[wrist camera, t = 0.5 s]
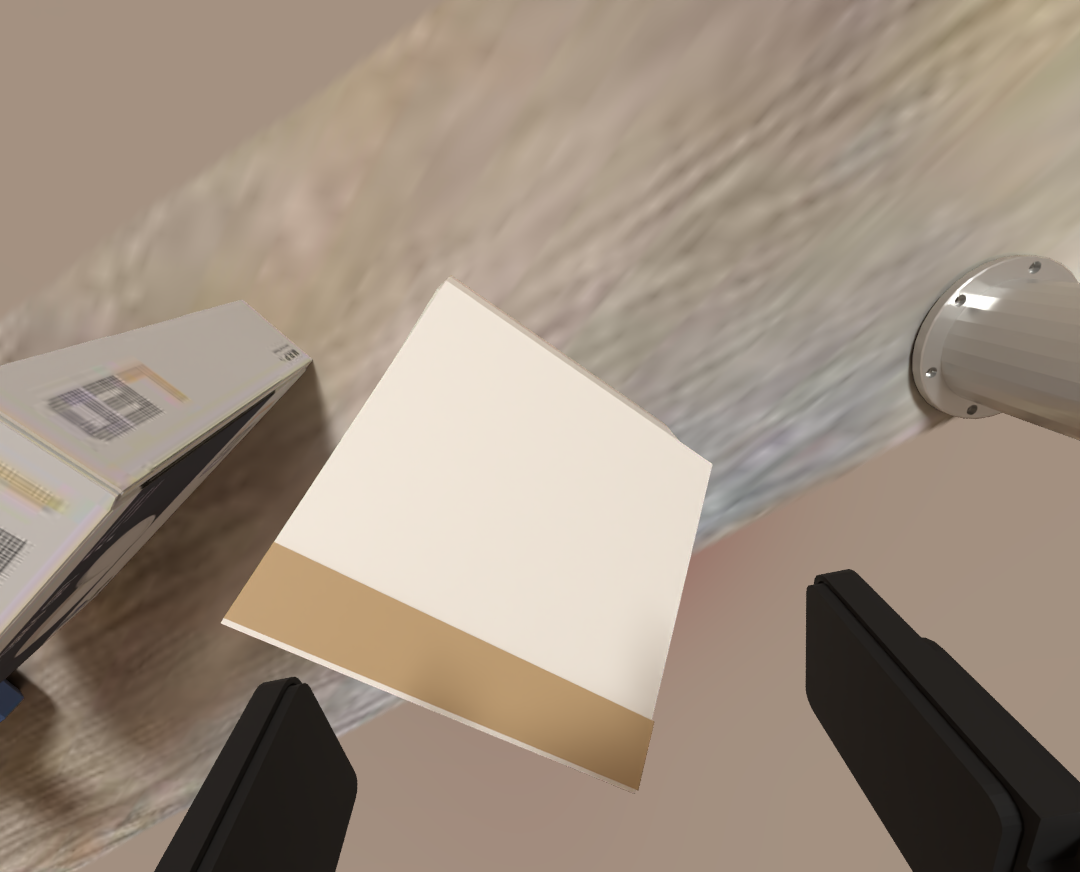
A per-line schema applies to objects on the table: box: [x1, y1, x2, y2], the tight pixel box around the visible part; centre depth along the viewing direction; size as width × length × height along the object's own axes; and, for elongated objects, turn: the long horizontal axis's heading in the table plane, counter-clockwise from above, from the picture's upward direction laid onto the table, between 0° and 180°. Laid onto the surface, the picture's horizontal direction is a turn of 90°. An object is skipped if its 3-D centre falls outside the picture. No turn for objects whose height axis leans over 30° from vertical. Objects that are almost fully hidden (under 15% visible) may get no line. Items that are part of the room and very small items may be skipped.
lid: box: [221, 280, 712, 794], centre depth 25 cm, size 20×18×1 cm
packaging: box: [0, 300, 313, 683], centre depth 29 cm, size 30×6×20 cm, turn 133°
